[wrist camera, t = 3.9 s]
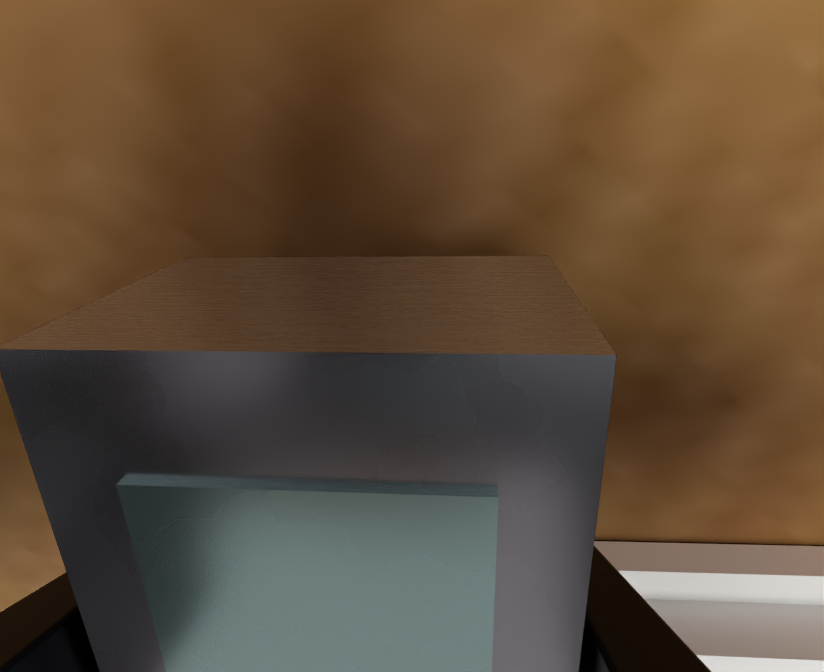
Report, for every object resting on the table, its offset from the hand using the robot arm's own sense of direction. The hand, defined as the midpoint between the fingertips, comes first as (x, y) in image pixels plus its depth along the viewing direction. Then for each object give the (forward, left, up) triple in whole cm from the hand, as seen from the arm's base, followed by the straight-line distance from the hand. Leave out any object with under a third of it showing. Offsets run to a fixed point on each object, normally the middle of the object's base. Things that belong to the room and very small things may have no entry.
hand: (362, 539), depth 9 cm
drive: (0, 0, -2) cm, 2 cm away
